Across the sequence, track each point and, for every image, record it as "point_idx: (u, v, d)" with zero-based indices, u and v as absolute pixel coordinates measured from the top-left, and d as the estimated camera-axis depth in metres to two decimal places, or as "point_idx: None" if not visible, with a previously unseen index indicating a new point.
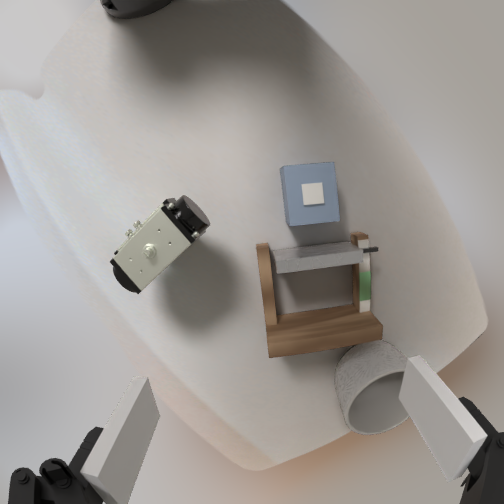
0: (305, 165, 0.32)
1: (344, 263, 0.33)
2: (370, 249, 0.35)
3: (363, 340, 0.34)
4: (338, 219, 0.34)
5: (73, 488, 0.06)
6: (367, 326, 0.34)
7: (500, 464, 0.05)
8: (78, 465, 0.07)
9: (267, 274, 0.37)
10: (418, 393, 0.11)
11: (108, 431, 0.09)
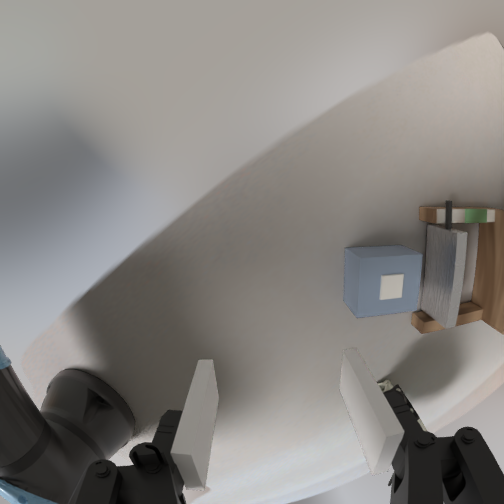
0: (360, 293, 0.26)
1: (464, 255, 0.24)
2: (449, 211, 0.25)
3: None
4: (421, 256, 0.26)
5: (163, 474, 0.07)
6: None
7: (423, 465, 0.06)
8: None
9: None
10: (350, 384, 0.13)
11: (189, 411, 0.10)
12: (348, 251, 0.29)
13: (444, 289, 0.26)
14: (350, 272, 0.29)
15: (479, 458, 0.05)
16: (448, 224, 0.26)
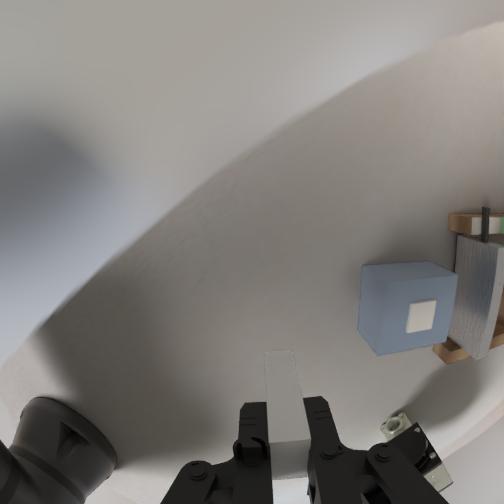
0: (383, 326, 0.20)
1: (503, 275, 0.18)
2: (486, 220, 0.19)
3: None
4: (456, 277, 0.19)
5: (263, 468, 0.08)
6: None
7: (334, 476, 0.07)
8: None
9: None
10: None
11: (273, 400, 0.11)
12: (367, 270, 0.23)
13: (477, 314, 0.20)
14: (369, 297, 0.22)
15: (401, 476, 0.06)
16: (485, 236, 0.19)
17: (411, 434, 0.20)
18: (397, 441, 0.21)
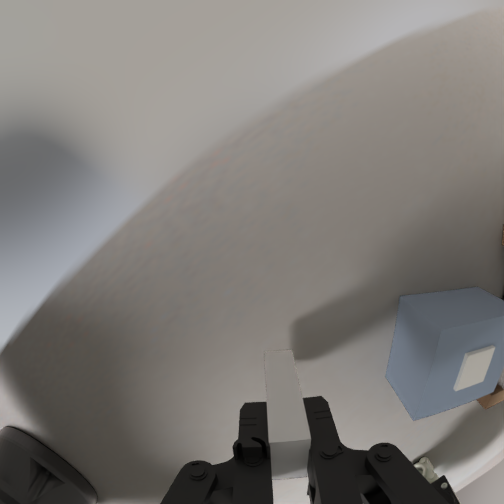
0: (427, 386, 0.12)
1: None
2: None
3: None
4: None
5: (263, 468, 0.08)
6: None
7: (334, 476, 0.07)
8: None
9: None
10: None
11: (273, 400, 0.11)
12: (408, 305, 0.15)
13: None
14: (408, 342, 0.15)
15: (401, 476, 0.06)
16: None
17: None
18: None
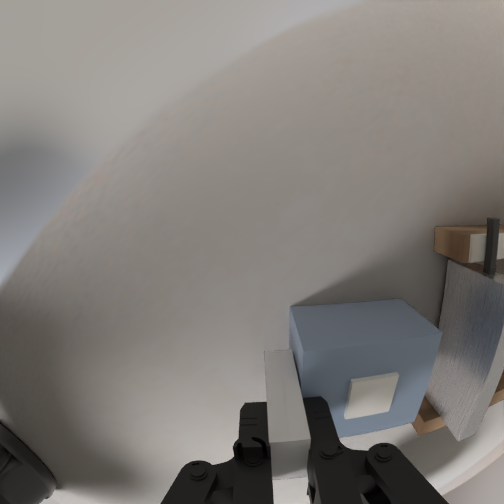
0: None
1: None
2: (494, 240, 0.11)
3: None
4: (438, 336, 0.12)
5: (263, 468, 0.08)
6: None
7: (334, 476, 0.07)
8: None
9: None
10: None
11: (273, 400, 0.11)
12: (292, 318, 0.15)
13: (468, 382, 0.12)
14: None
15: (401, 476, 0.06)
16: (490, 265, 0.12)
17: None
18: None
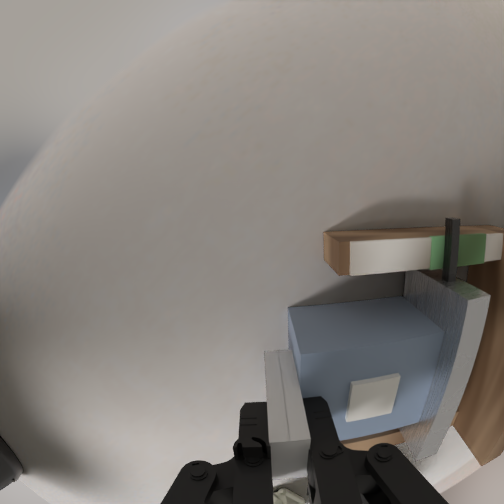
0: None
1: (477, 344, 0.10)
2: (453, 243, 0.11)
3: None
4: (440, 335, 0.11)
5: (263, 468, 0.08)
6: None
7: (334, 476, 0.07)
8: None
9: (373, 442, 0.15)
10: None
11: (273, 400, 0.11)
12: (290, 320, 0.15)
13: None
14: None
15: (401, 476, 0.06)
16: (449, 272, 0.12)
17: None
18: None
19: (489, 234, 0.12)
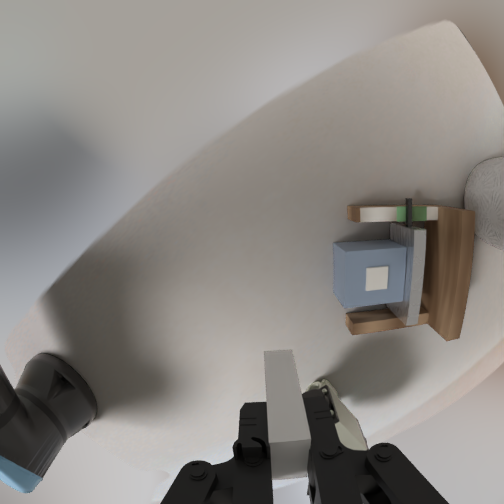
0: (346, 285, 0.29)
1: (423, 253, 0.26)
2: (409, 209, 0.28)
3: (471, 236, 0.24)
4: (405, 249, 0.28)
5: (263, 468, 0.08)
6: (458, 228, 0.24)
7: (334, 476, 0.07)
8: None
9: (379, 324, 0.31)
10: None
11: (273, 400, 0.11)
12: (336, 246, 0.31)
13: (404, 286, 0.28)
14: (337, 265, 0.31)
15: (401, 476, 0.06)
16: (408, 222, 0.28)
17: (315, 391, 0.29)
18: (303, 396, 0.30)
19: (429, 207, 0.28)
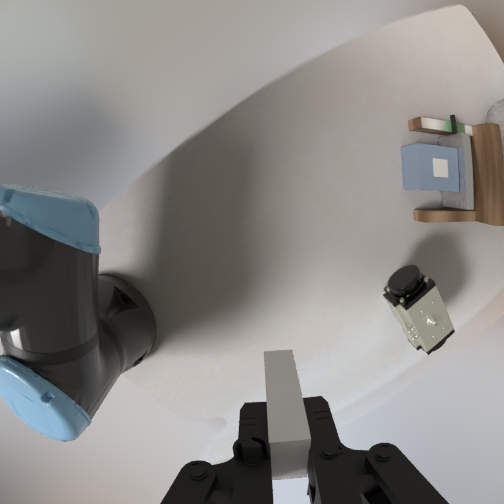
0: (420, 169, 0.31)
1: (470, 151, 0.29)
2: (454, 122, 0.31)
3: (500, 141, 0.27)
4: (456, 149, 0.31)
5: (263, 468, 0.08)
6: (490, 135, 0.28)
7: (334, 476, 0.07)
8: None
9: (443, 215, 0.34)
10: None
11: (273, 400, 0.11)
12: (405, 147, 0.34)
13: (459, 179, 0.31)
14: (408, 161, 0.34)
15: (401, 476, 0.06)
16: (454, 131, 0.31)
17: (406, 267, 0.32)
18: (396, 274, 0.33)
19: (465, 125, 0.31)
